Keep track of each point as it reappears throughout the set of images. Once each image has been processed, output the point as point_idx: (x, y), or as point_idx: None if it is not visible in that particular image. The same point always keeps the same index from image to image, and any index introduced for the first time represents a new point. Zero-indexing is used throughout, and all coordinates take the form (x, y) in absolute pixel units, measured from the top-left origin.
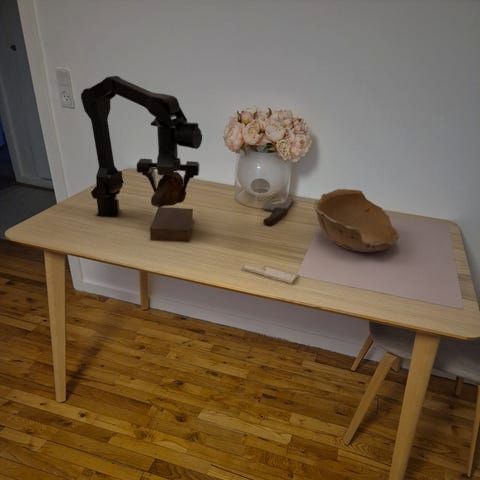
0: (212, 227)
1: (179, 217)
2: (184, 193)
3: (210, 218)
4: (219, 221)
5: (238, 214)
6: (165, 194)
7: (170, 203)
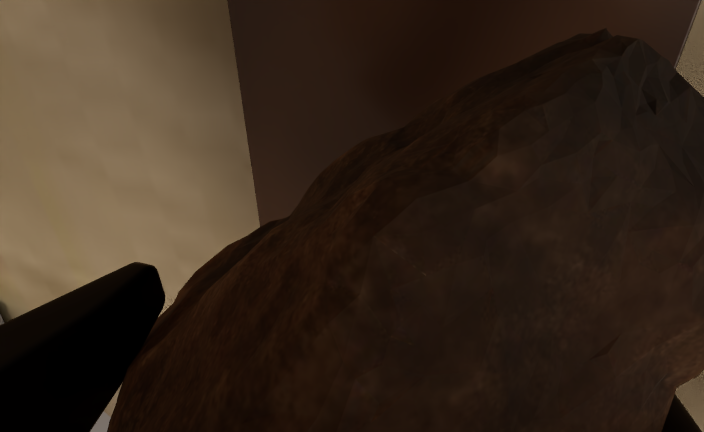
0: (153, 116)
1: (352, 142)
2: (101, 278)
3: (203, 249)
4: (141, 205)
5: (82, 279)
6: (400, 174)
7: (373, 141)
